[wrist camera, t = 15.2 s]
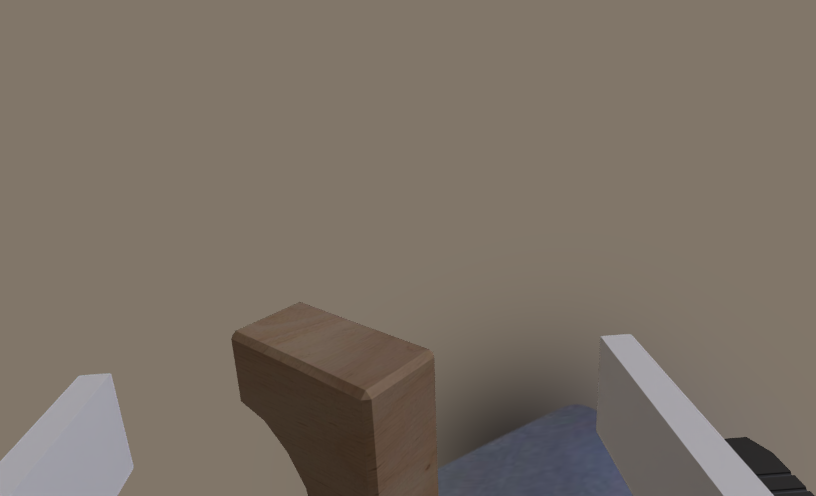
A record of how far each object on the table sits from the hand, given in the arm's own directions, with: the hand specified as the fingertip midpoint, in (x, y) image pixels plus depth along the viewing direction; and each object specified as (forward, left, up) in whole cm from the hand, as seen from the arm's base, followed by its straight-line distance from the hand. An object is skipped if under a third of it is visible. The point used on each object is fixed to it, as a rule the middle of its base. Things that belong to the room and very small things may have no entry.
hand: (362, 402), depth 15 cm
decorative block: (-2, +17, -27) cm, 32 cm away
